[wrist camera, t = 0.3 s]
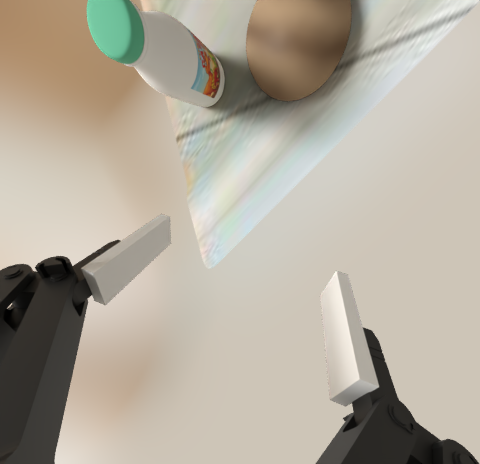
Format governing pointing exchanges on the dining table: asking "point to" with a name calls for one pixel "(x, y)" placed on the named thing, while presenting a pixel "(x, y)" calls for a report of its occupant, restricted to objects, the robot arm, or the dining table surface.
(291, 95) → the brown round coaster
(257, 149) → the dining table surface
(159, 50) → the milk bottle
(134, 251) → the robot arm
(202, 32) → the dining table surface
